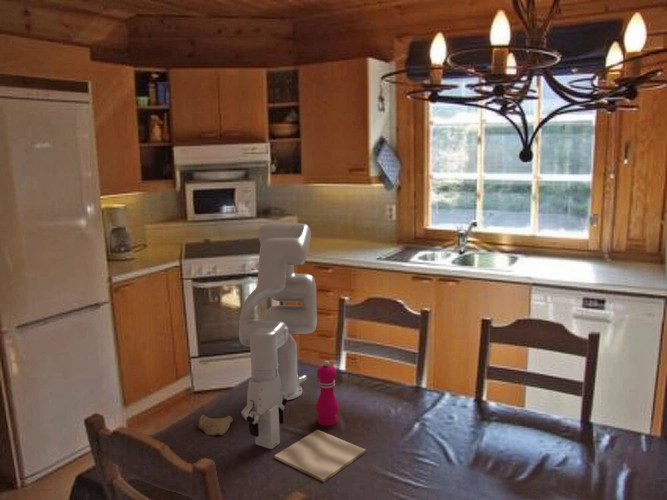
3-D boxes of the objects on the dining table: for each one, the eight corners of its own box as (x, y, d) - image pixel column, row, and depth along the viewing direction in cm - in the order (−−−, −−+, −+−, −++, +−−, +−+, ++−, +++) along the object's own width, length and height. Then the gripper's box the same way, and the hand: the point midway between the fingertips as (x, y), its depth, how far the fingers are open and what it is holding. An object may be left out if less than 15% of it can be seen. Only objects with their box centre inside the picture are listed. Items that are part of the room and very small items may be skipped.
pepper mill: (342, 424, 170) (341, 363, 166) (320, 428, 167) (319, 366, 164) (334, 413, 176) (333, 355, 173) (312, 418, 174) (311, 358, 170)
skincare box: (280, 443, 159) (279, 404, 157) (271, 450, 156) (270, 410, 154) (263, 437, 162) (262, 400, 160) (254, 444, 159) (253, 406, 157)
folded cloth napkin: (317, 432, 165) (317, 429, 165) (365, 452, 154) (365, 449, 154) (274, 458, 152) (274, 455, 152) (323, 482, 140) (323, 479, 140)
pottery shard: (233, 423, 175) (203, 415, 175) (236, 412, 173) (206, 403, 174) (223, 443, 164) (191, 434, 165) (225, 431, 163) (193, 422, 164)
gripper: (277, 360, 164) (279, 414, 167) (232, 378, 151) (234, 436, 154) (295, 366, 159) (296, 421, 162) (250, 385, 146) (253, 444, 149)
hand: (266, 428), depth 158 cm, fingers open, 9 cm apart
